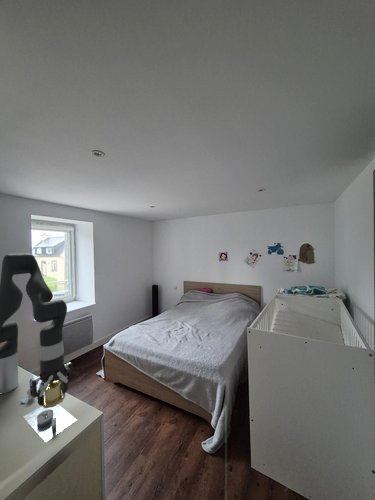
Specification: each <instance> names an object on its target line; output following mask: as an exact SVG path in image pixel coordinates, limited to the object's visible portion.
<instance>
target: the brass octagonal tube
mask: <svg viewBox="0 0 375 500" xmlns="http://www.w3.org/2000/svg"><path fill="white" fill-rule="evenodd" d="M65 398H66V393H64V392H63V391H62V380H60V379H59V380H57V381H54V382H53V383H51V384H49V385H48V387H47V389H46V390H45V392H44V405H43V406H42V407H44V408H50V407H54V406H56V405H58V404H59V405H60V404H61V403H63V401H64V400H65Z"/></svg>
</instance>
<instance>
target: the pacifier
mask: <svg viewBox="0 0 375 500" xmlns="http://www.w3.org/2000/svg"><path fill="white" fill-rule="evenodd" d="M26 394H27V396H25V397H22V398H21V399H20V402H21V403H22V404H27V403H28V402H27V401H26V400H27V399H28V400H29V401H30V400H33V399H34V398H33V397H32V396H31V394H30V388H29V389H27V391H26ZM35 400H37V397H36V398H35Z"/></svg>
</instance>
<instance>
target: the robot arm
mask: <svg viewBox="0 0 375 500" xmlns="http://www.w3.org/2000/svg"><path fill="white" fill-rule="evenodd" d="M41 271H42V270H41V268H40V266H39V262H38V260H37V259H36V256H34V254H32V253H28V252H27V253H26V252H25V253H8V254H6V255H4V257H3V259H2V264H1V271H0V344H2V343H4V342H5V343H4V344H2V346H0V393H4V394H7V393H9V392H12V391H13V390H15V389H16V388H17V387H18V385H19V361H18V360H19V357H18V347H19V343H18V342H19V341H18V339H19V326H18V325H19V324H18V323H17V322H16V321H15V320H11V321H9V319H10V318H11V317H12V316H13V315H14V314H16V312H17V311H19V309H20V308H21V306H22V302H23V296H24V293H23V292H22V290H21V289H20V287H19V286H18V285H17V284H16V283H15V282H14V280H13V277H14V276H15V275H26V274H30V277H29V279H28V280H27V282H26V285H25V293H26V295H27V296H28V298H29V300H30V301H31V305H32V316H33V317H32V318H33V319H34V320H35V322H38V323H40V324H41V323H46V322H50V321H51V323H50V324H48V325H46V326H44V327H43V328H42V329H40V331H39V371H40V372H39V375H38V376H37V377H35V378H30V379H29V389H30V394H31V396H32V397H33V399H36V398H37V399H36V400H37V405H39V406H40V407H41V406H43V405H44V397H45V390H46V389H47V387H48V385H49V384H51V383H53V382H54V381H57V380H59V381H61V391H63V392H64V393H65V394H66V393H67V391H68V387H69V385H68V382H69V380H72V379H73V375H74V373H73V371H74V366H73V365H74V364H73V363H72V362H70V361H68V362H66V363H65V351H64V350H65V348H64V340H63V338H64V337H63V327H64V324H65V321H66V316H67V313H68V312H67V311H68V307H67V303H66V302H65V301H64V300H63V299H54V300H53V292H52V291H51V289H50V287H49V286H48V284H47V283H46V281H45V279H44V278H43V277H44V276H43V274H42V272H41ZM65 369H66V376H65V375H64V371H65ZM39 382H40V383H39ZM38 384H39V387H37V386H38Z"/></svg>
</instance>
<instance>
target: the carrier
mask: <svg viewBox="0 0 375 500" xmlns="http://www.w3.org/2000/svg"><path fill="white" fill-rule="evenodd" d="M22 419H24V420H25V421H26V423H27V424H28V425H29V426H30V427H31V428H32V429H33V431H34V432H36V434H38V436H39V437H40V438H41V439H42V440H43V441H44V443H47V442H49V441H50V440H51V439H53V438H54V437H55V436H57V435H59V434H60V433H61V432H63V431H64V430H65V429H66V428H68V427H70V426H71V425H72V424H74V423H75V422H76V421H78V419H77V418H75V417H74V415H72V414H71V413H69V411H67V410H66V409H65V408H64V407H62V406H61V405H60V403H59V404H58V405H56V406H54V407H50V408H44V407H42V406H41V405H40V406H39V407H37V408H35V409H34V410H32V411H31V412H29V413H27V414H26V415H25V414H24V415H23V417H22Z"/></svg>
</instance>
